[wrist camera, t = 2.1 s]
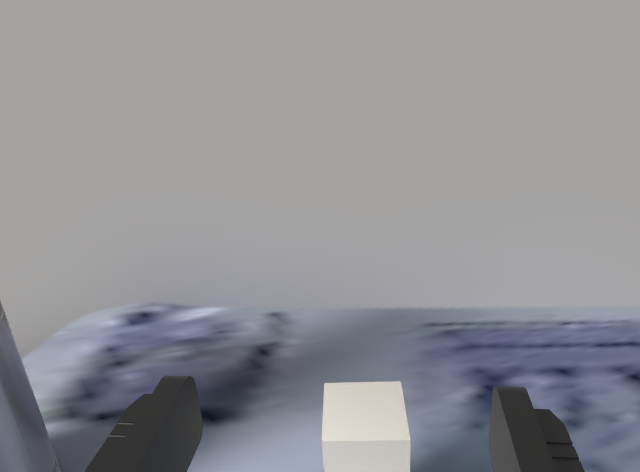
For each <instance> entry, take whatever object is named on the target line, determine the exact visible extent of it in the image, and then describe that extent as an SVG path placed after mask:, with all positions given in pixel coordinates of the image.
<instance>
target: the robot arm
mask: <svg viewBox="0 0 640 472" xmlns="http://www.w3.org/2000/svg"><path fill="white" fill-rule="evenodd" d="M202 428H203V422H202V415H201V410H200V405H199V400H198V395H197V390H196V385H195V381H194V379H193V377H191V376H164V377H163V378H162V379H161V381H160V382H159V384H158V385H157V387H156V388H155V390H154V392H153V393H152V394H144V395H142V396H141V397H140V398H139V399H138V400H136V401H135V402H134V403H133V404H131V405H130V406H129V407H128V408H127V410H126V411H125V413H124V414H123V416H122V417H121V419H120V420H119V423H118V425H116V426H115V428H114V429H113V431H112V432H111V434H110V437H108V438H107V439H106V441H105V442H104V444H103V445H102V447H101V448H100V450H99V451H98V453H97V454H96V456H95V457H94V459H93V460H92V462H91V463H90V465H89V466H88V468H87V469H86V471H85V472H187V470H188V467H189V465H190V463H191V461H192V459H193V456H194V454H195V452H196V450H197V447H198V445H199V443H200V440H201V436H202ZM489 445H490V454H491V460H492V464H493V469H494V472H585V471H584V469H583V467H582V464H581V462H579V457H578V455H577V453H576V450H575V448H574V447H573V446H572V441H571V439H570V437H569V434H568V432H567V430H566V427H565V425H564V424H563V423H562V422H561V421H560V420H559V419H558V418H557V417H556V416H555V415H554V414H553V413H552V412H551V411H550V410H549V409H533V406H532V403H531V400H530V398H529V395H528V392H527V390H526V388H524V387H494V388H493V394H492V406H491V418H490V430H489ZM0 472H61V470H60V467H59V464H58V461H57V459H56V456H55V453H54V450H53V447H52V445H51V442H50V439H49V436H48V433H47V430H46V427H45V424H44V421H43V419H42V416H41V413H40V410H39V407H38V405H37V402H36V399H35V396H34V393H33V391H32V388H31V385H30V382H29V379H28V377H27V374H26V371H25V368H24V365H23V363H22V360H21V357H20V354H19V352H18V349H17V346H16V343H15V340H14V337H13V335H12V332H11V329H10V326H9V323H8V321H7V318H6V315H5V312H4V309H3V307H2V304H1V302H0Z"/></svg>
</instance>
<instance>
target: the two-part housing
mask: <svg viewBox="0 0 640 472" xmlns="http://www.w3.org/2000/svg"><path fill="white" fill-rule="evenodd" d="M322 452H323V464H324V472H410V435H409V428H408V422H407V416H406V410H405V404H404V398H403V392H402V386H401V381H391V382H348V383H324V402H323V424H322Z"/></svg>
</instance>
